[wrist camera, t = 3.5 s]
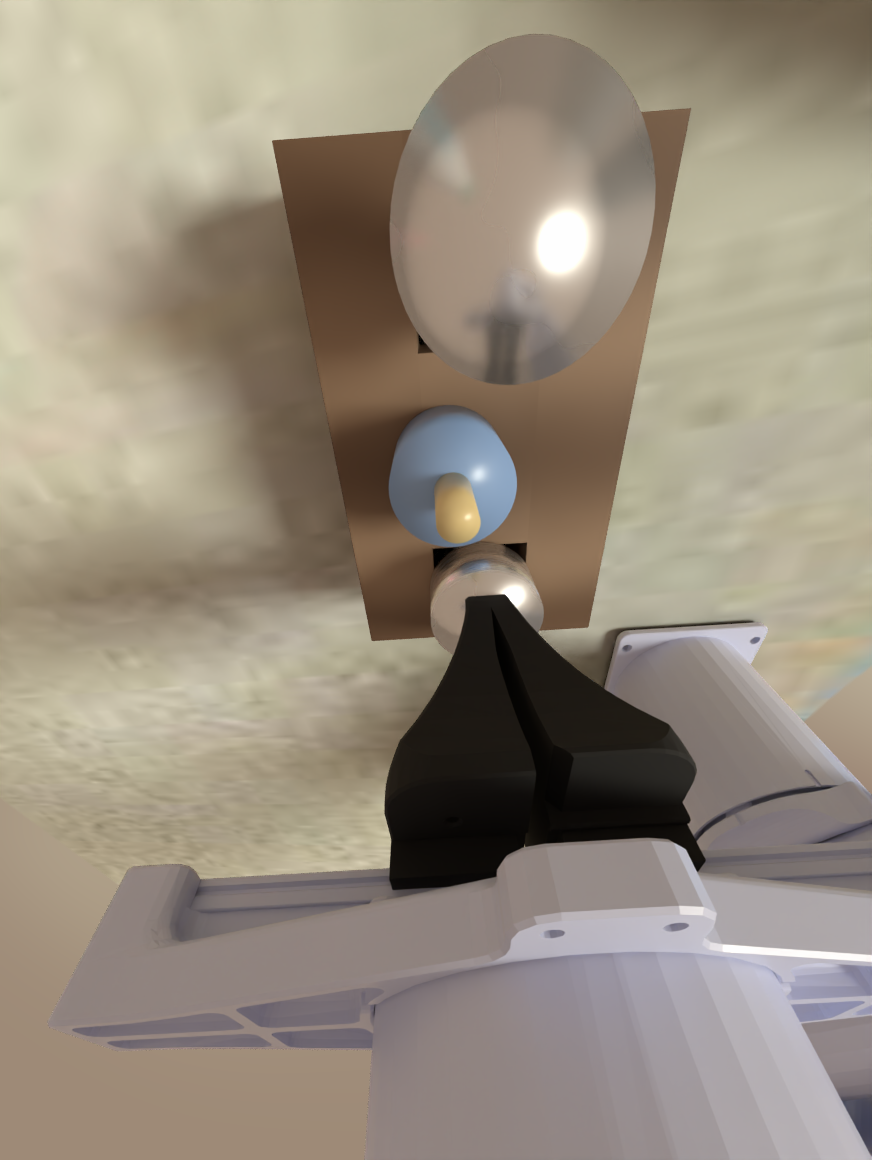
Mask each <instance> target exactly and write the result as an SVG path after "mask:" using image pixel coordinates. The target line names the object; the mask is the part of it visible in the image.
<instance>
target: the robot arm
mask: <svg viewBox="0 0 872 1160" xmlns="http://www.w3.org/2000/svg"><path fill="white" fill-rule="evenodd" d="M767 632H768V628H767V627H766V626H765V625H764V624H762V623H760V622H755V623H739V624H723V625H707V626H691V627H675V628H659V629H643V630H628V631H623V632H621V633H620V634H619V635H618V637H617V640H616V644H615V648H614V651H613V655H612V659H611V663H610V667H609V671H608V675H607V679H606V683H605V687H604V688H602V687H601V686H600V685H598V684H597V683H595V682H594V681H592V680H591V679H589V678H588V677H586V676H585V675H584V674H582V673H581V672H580V671H578V670H577V669H576V668H575V667H573V666H572V665H571V664H570V663H569V662H567V661H566V660H565V659H564V658H563V657H562V656H561V655H559V654H558V653H557V652H556V651H555V650H554V649H553V648H552V647H551V646H550V645H549V644H548V643H547V642H546V641H545V640H544V639H543V638H542V637H541V636H540V635H539V634H538V633H537V632H536V630H535V629H534V628H533V627H532V626H531V625H530V624H529V623H528V621H527V620H526V619H525V618H524V617H523V615H522V614H521V613H520V612H519V610H518V609H517V608H516V607H515V605H514V604H513V602H512V601H511V600H510V598H509V597H508V596H507V595H506V594H500V595H485V596H469V597H467V598H466V599H465V617H464V622H463V626H462V630H461V634H460V638H459V641H458V643H457V646H456V649H455V652H454V655H453V657H452V660H451V662H450V664H449V667H448V669H447V671H446V673H445V675H444V677H443V679H442V681H441V683H440V684H439V686H438V688H437V690H436V692H435V693H434V695H433V697H432V698H431V700H430V701H429V703H428V704H427V706H426V707H425V709H424V710H423V712H422V713H421V715H420V716H419V717H418V719H417V720H416V722H415V723H414V724H413V725H412V726H411V728H410V729H409V730H408V731H407V733H406V734H405V735H404V736H403V738H402V739H401V740H400V742H399V744H398V747H397V749H396V752H395V755H394V758H393V761H392V764H391V767H390V770H389V774H388V778H387V783H386V790H385V817H386V821H387V824H388V828H389V832H390V836H391V856H390V868H386V869H369V870H352V871H334V872H317V873H300V874H282V875H265V876H248V877H230V878H213V879H200V878H199V876H198V874H197V872H196V871H195V870H194V869H192V868H191V867H189V866H186V865H182V864H165V865H148V866H133V867H131V868H129V869H128V870H127V872H126V874H125V876H124V878H123V880H122V882H121V884H120V885H119V887H118V889H117V891H116V893H115V895H114V897H113V899H112V901H111V903H110V905H109V906H108V908H107V910H106V912H105V914H104V916H103V918H102V919H101V921H100V923H99V925H98V927H97V929H96V931H95V933H94V935H93V937H92V938H91V940H90V942H89V944H88V946H87V948H86V950H85V952H84V953H83V956H82V957H81V959H80V961H79V963H78V965H77V967H76V969H75V971H74V972H73V974H72V976H71V978H70V980H69V982H68V984H67V986H66V988H65V989H64V991H63V993H62V995H61V997H60V999H59V1001H58V1003H57V1005H56V1006H55V1008H54V1010H53V1012H52V1014H51V1016H50V1018H49V1020H48V1026H49V1028H52V1029H55V1030H58V1031H61V1032H63V1033H66V1034H69V1035H72V1036H75V1037H77V1038H80V1039H83V1040H86V1041H89V1042H92V1043H95V1044H98V1045H101V1046H103V1047H106V1048H109V1049H112V1050H115V1051H134V1050H135V1051H136V1050H158V1049H159V1050H160V1049H201V1048H202V1049H204V1048H205V1049H208V1048H209V1049H211V1048H212V1049H216V1048H217V1049H228V1048H229V1049H231V1048H232V1049H321V1050H325V1049H326V1050H328V1049H329V1050H372V1057H371V1072H370V1086H369V1101H368V1115H367V1130H366V1145H365V1160H872V794H870V793H869V792H868V791H867V790H866V788H865V787H864V786H863V785H862V784H861V783H860V782H859V781H858V780H857V779H856V778H855V777H854V776H853V775H852V773H851V772H850V771H849V770H848V769H847V768H846V767H845V766H844V765H843V764H842V763H841V762H840V761H839V759H838V758H837V757H836V756H835V755H834V754H833V753H832V752H831V751H830V750H829V749H828V748H827V746H826V745H825V744H824V743H823V742H822V741H821V740H820V739H819V738H818V737H817V736H816V735H815V734H814V733H813V731H812V730H811V729H810V728H809V727H808V726H807V725H806V724H805V723H804V722H803V721H802V720H801V719H800V717H799V716H798V715H797V714H796V713H795V712H794V711H793V710H792V709H791V708H790V707H789V706H788V705H787V703H786V702H785V701H784V700H783V699H782V698H781V697H780V696H779V695H778V694H777V693H776V692H775V691H774V689H773V688H772V687H771V686H770V685H769V684H768V683H767V682H766V681H765V680H764V679H763V678H762V677H761V675H760V674H759V673H758V672H757V671H756V670H755V669H754V668H753V667H752V666H751V665H750V664H751V663H752V661H753V659H754V657H755V655H756V653H757V651H758V649H759V647H760V646H761V644H762V642H763V640H764V638H765V636H766V634H767ZM625 645H627V646H625ZM624 646H625V647H624ZM524 844H525V847H524Z"/></svg>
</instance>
